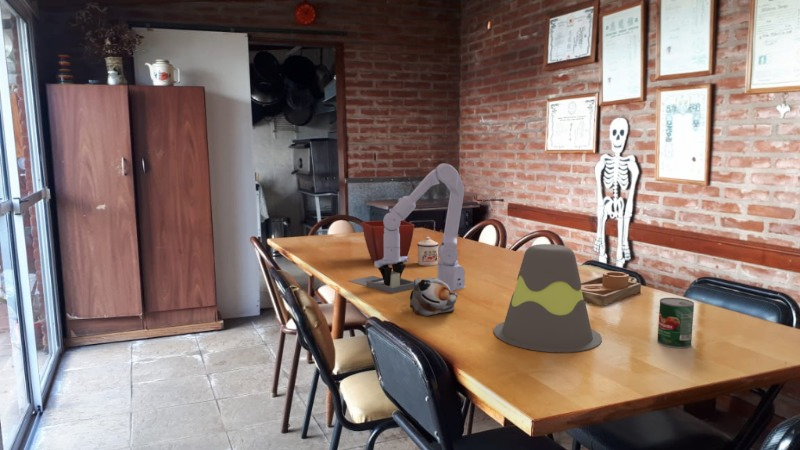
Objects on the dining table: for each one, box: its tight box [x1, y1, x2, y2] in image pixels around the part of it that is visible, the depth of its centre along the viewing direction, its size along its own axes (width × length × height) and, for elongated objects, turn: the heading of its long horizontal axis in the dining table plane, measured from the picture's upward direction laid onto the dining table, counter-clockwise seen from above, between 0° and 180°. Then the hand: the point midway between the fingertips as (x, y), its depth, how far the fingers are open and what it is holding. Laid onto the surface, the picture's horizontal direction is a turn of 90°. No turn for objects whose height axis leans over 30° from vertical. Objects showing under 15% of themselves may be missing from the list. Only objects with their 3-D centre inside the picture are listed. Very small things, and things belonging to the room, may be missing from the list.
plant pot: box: [361, 220, 415, 261], centre depth 252 cm, size 19×19×17 cm
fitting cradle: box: [581, 275, 642, 306], centre depth 194 cm, size 15×25×3 cm, turn 132°
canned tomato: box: [656, 297, 695, 349], centre depth 145 cm, size 8×8×11 cm
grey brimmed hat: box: [493, 243, 603, 354], centre depth 151 cm, size 28×28×24 cm
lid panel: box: [348, 275, 380, 287], centre depth 212 cm, size 11×12×1 cm
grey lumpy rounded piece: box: [409, 277, 459, 317], centre depth 172 cm, size 15×12×14 cm
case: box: [366, 277, 414, 294], centre depth 203 cm, size 14×12×2 cm
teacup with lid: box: [416, 236, 440, 267], centre depth 245 cm, size 12×9×12 cm
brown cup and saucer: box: [581, 270, 630, 295], centre depth 194 cm, size 18×8×7 cm, turn 104°
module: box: [390, 270, 400, 287], centre depth 203 cm, size 4×4×5 cm
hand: (391, 284), depth 203 cm, fingers closed on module, 4 cm apart
